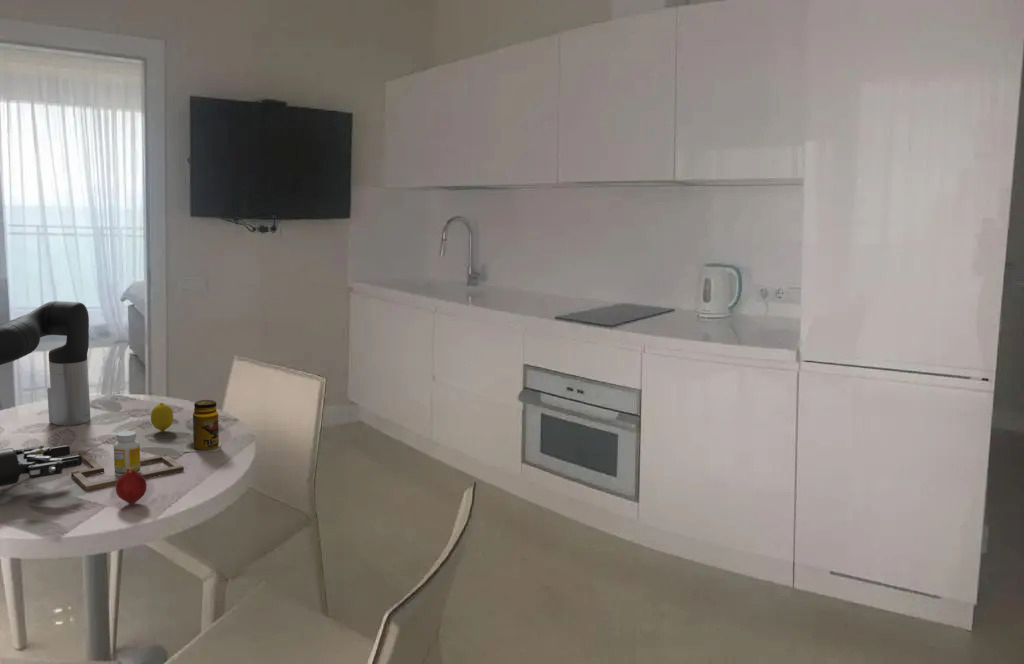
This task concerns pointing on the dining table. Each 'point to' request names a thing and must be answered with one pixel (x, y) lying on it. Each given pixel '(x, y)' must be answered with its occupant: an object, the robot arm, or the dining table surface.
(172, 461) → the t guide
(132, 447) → the supplement bottle
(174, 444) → the dining table surface
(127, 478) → the onion
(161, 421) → the lemon
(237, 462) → the dining table surface
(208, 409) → the condiment
